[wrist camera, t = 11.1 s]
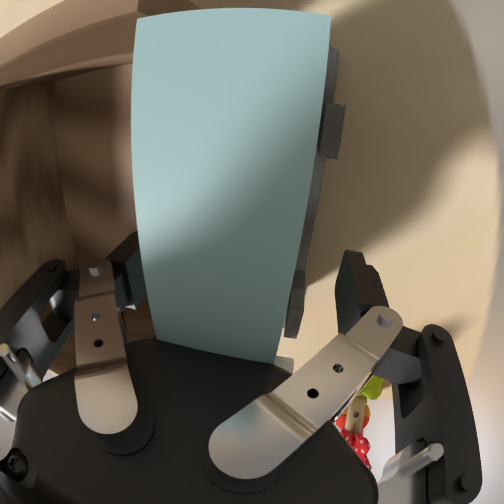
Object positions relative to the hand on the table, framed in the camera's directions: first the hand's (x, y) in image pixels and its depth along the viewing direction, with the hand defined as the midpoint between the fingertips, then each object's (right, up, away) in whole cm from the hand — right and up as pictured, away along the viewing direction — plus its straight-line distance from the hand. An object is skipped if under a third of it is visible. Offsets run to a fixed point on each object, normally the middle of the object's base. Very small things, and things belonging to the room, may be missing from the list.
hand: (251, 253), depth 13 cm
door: (+1, +3, +5) cm, 6 cm away
